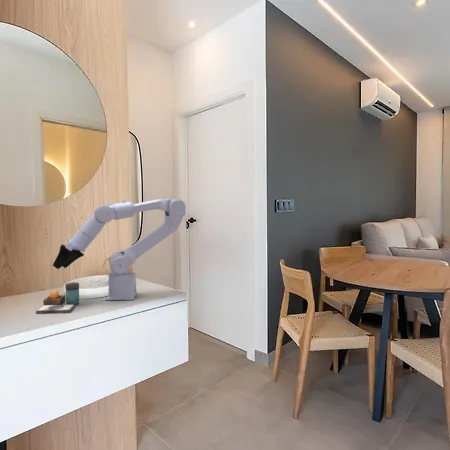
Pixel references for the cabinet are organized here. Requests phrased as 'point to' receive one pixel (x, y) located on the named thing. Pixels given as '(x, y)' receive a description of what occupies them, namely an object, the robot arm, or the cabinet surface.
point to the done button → (54, 294)
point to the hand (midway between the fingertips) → (59, 266)
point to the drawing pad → (55, 309)
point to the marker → (72, 293)
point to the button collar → (54, 300)
